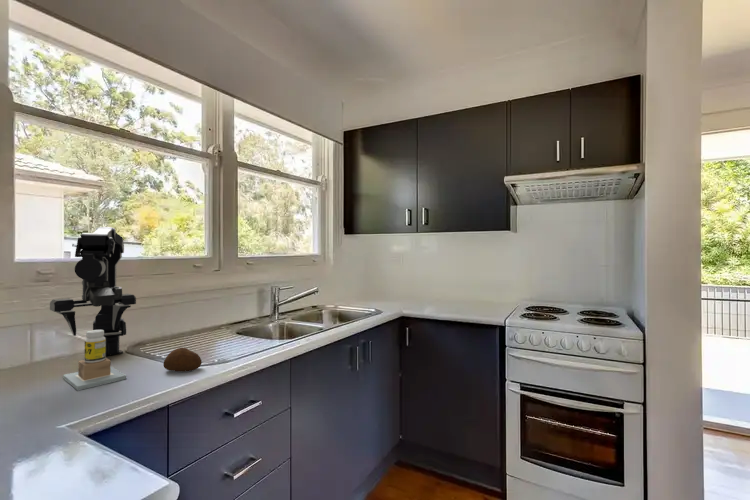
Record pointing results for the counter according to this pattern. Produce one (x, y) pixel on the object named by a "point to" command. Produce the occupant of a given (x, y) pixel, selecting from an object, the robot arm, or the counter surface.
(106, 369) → the walnut block
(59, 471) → the counter surface
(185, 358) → the potato
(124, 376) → the build board
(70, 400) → the counter surface
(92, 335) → the supplement bottle
